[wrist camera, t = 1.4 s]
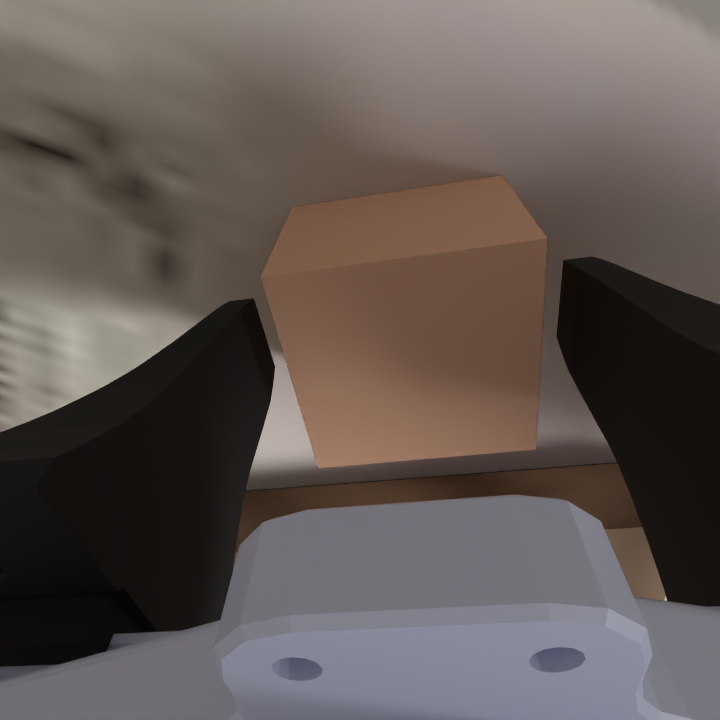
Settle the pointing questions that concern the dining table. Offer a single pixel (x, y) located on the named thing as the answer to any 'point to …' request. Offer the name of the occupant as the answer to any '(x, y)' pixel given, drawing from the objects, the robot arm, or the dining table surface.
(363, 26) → the dining table surface
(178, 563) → the robot arm
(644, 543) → the walnut base
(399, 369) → the terracotta block
